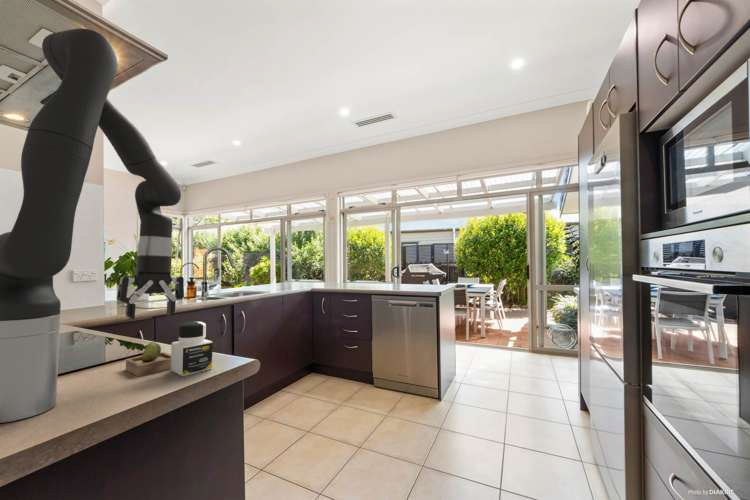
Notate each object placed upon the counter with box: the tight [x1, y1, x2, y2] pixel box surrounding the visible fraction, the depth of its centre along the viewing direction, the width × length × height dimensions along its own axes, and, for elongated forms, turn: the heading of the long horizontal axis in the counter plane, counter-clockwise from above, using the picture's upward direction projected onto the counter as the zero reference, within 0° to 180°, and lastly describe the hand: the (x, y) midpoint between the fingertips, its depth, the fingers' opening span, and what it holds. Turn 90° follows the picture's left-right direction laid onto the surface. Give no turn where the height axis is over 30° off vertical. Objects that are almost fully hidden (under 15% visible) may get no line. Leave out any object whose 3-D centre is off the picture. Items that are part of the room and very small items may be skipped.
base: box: [125, 351, 171, 378], centre depth 83 cm, size 8×8×3 cm
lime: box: [141, 341, 162, 362], centre depth 83 cm, size 4×5×5 cm
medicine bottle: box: [170, 321, 214, 377], centre depth 82 cm, size 7×7×12 cm
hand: (151, 317), depth 83 cm, fingers open, 8 cm apart
